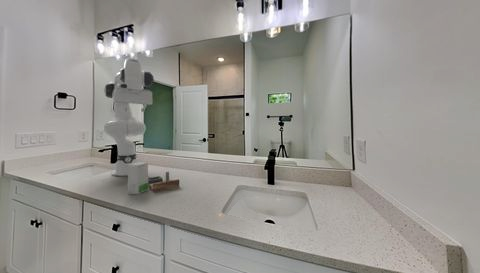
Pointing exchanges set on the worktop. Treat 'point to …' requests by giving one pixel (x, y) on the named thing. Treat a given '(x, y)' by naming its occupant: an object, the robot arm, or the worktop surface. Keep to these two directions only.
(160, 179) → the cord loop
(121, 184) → the worktop surface
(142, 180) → the skincare box
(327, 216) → the worktop surface
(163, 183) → the hook shelf
